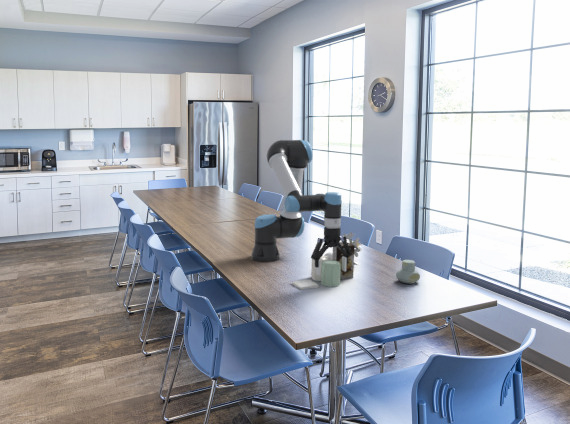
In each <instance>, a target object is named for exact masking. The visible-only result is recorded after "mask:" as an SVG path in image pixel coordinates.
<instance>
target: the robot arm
mask: <svg viewBox="0 0 570 424" xmlns="http://www.w3.org/2000/svg"><path fill="white" fill-rule="evenodd" d="M266 159H267V160H266V161H267V164H268V166H269V167H270V168H271V169H272V170H273V173H274V174H275V176H276V178H277V181H278V183H279V184H280V187H281V189H282V191H283V194H284V199H283V200H284V201H283V209H282V211H280V213H279V216H277V214H274V213H273V214H263V215H260V216H257V217H255V220H254V246H253V248H252V252H251V260H253V261H255V262H261V263H262V262H263V263H264V262H266V263H269V262H275V261H279V260H280V252H279V249H278V248H279V247H278V245H277V240H278V239H288V238H289V239H293V238H299V237H300V236H301V235H302V234H304V231H305V226H306V225H305V219H304V217H303V216H302V213H303V212H305V213H307V212H324V213H323V214H324V216H323V217H324V220H323V226H324V228H323V238H320V237H318V238H317V241H316V244H315V247H314V249H313V251H312V254H311V257H310V258H311V260H312V259H314V260H315V267H316V274H318V275H320V274H321V261H320V260H319V259H320V258H321V257H322V256H324V255H325V252H326V251H327V250H328V249H329V248H332V249H333V247H337V248H338V249H339V250H340V251H341V253H342V254H343V255H344V256H342V270H343V271H346V264H348V258H349V256H351V255H352V253H351V250H350V248H349V246H348V243H349V242H348V239H347V240H346V237H345V236H343V235H341V226H342V225H341V223H342V202H343V201H342V194H341V193H340V192H334V191H331V192H330V191H329V192H325V194H324V193H316V194H303V192H302V188H303V180H304V179H303V178H304V170H305V169H307V167H308V164H310V163H311V162H312V160H313V150H312V146H311V144H310V142H309V141H307V140H306V139H305V140H304V139H303V140H301V139H289V140H288V139H282V140H281V139H280V140H277V141H275V142H273V143H272V144H271V145H270V146H269V147H268V150H267V153H266ZM341 241H342V243H343V246H344V248H345V250H346V251H345V250H344V249H343V248H342V246H341V244H340V243H339V242H341ZM346 252H347V253H346Z"/></svg>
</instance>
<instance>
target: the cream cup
mask: <svg viewBox="0 0 570 424" xmlns="http://www.w3.org/2000/svg"><path fill="white" fill-rule="evenodd" d="M319 260H320V261H321V269H322V262H323V261H328V260H330V258H329V257H327V256H324V255H322V257H321V258H320V259H319ZM310 275H311V277H310V279H312V280H313V281H317V282H318V281H319V282H321V274H320V275H318V274H316V267H315V260H314V259H312V258H311V274H310Z"/></svg>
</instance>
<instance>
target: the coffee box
mask: <svg viewBox="0 0 570 424" xmlns="http://www.w3.org/2000/svg"><path fill="white" fill-rule="evenodd" d="M347 243H348V246H349V248H350V250H351V253H352V255H351V256H349V258H348V264H346V271H343V270H342V256H344V255H343V254H342V253H341V251H340V250H339V249H338V248H337V247H332V253H333V254H332V261H338V262H340V264H341V273H340V280H341V279H353V278H354V271H355V270H354V268H355V264H354V261H355V255H354V250H355V249H356V248H355V245H353V244H351V243H350V242H347ZM340 244H341V246H342V248H343V249H344V250H345V248H344V246H343V243H340ZM345 251H346V250H345ZM346 253H347V252H346Z"/></svg>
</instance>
